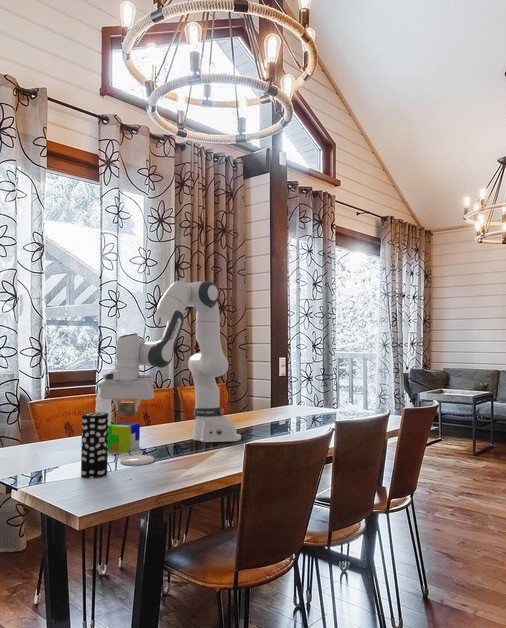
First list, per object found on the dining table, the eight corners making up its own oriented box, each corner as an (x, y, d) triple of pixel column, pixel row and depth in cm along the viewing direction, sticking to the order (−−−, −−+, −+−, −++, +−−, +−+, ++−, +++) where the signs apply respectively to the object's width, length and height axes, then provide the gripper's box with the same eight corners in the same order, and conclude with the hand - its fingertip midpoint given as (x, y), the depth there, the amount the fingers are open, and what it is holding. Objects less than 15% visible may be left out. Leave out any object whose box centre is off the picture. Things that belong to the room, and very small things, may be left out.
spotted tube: (84, 472, 175) (85, 412, 176) (109, 471, 176) (110, 412, 177) (78, 478, 167) (79, 416, 168) (104, 478, 167) (105, 415, 169)
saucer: (157, 458, 197) (157, 455, 197) (149, 465, 185) (149, 462, 185) (125, 457, 197) (125, 455, 197) (116, 465, 185) (116, 462, 185)
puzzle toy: (139, 447, 216) (139, 423, 217) (126, 452, 207) (126, 427, 207) (118, 445, 220) (119, 422, 220) (104, 450, 210) (105, 425, 211)
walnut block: (134, 414, 202) (135, 401, 202) (131, 416, 197) (131, 403, 197) (122, 414, 202) (122, 401, 202) (118, 416, 197) (118, 403, 197)
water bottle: (113, 436, 241) (114, 382, 242) (107, 439, 234) (108, 383, 235) (98, 436, 242) (99, 382, 243) (92, 438, 235) (93, 383, 236)
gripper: (156, 374, 203) (155, 410, 202) (104, 374, 204) (103, 409, 203) (151, 375, 196) (151, 412, 196) (98, 375, 198) (98, 411, 197)
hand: (126, 411), depth 199 cm, fingers closed on walnut block, 5 cm apart
